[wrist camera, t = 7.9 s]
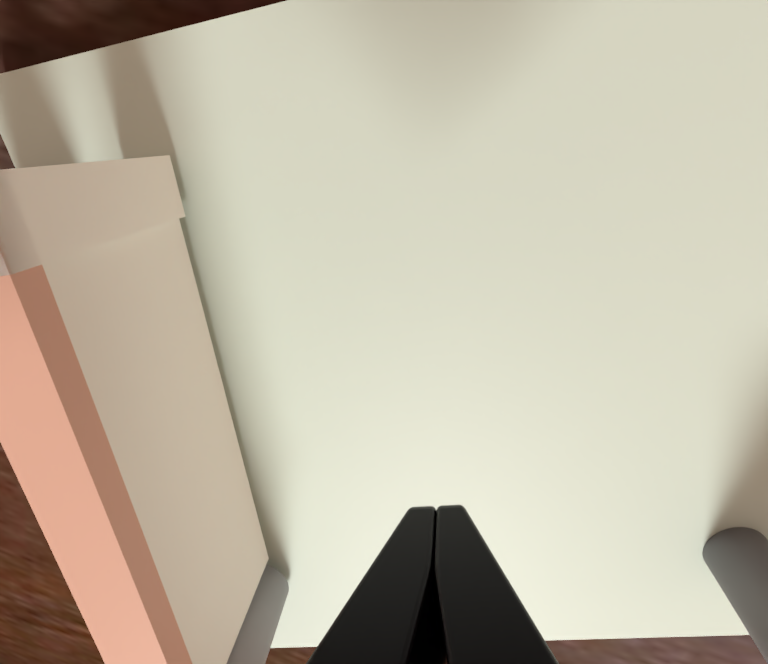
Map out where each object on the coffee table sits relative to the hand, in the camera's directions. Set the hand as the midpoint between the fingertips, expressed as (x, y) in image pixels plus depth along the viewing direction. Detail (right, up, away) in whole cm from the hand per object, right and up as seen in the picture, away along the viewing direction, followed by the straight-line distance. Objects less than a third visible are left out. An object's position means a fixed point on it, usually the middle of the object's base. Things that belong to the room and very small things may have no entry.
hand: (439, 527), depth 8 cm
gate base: (+1, +1, +9) cm, 9 cm away
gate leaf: (-6, 0, +8) cm, 10 cm away
